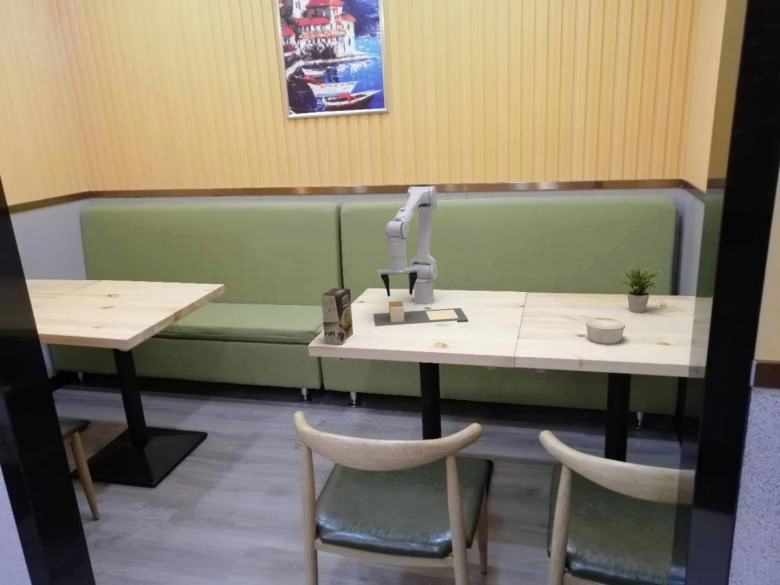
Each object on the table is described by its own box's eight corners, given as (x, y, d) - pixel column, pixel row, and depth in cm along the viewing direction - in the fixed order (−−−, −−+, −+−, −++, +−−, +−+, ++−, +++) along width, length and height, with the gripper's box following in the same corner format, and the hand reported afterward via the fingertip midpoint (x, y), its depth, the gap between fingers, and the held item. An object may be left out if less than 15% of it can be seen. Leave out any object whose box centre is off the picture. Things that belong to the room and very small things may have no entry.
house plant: (657, 320, 192) (661, 271, 188) (613, 315, 199) (616, 268, 195) (662, 308, 204) (666, 262, 200) (620, 303, 211) (623, 259, 206)
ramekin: (621, 333, 182) (622, 317, 181) (626, 346, 172) (627, 329, 170) (583, 332, 185) (584, 316, 183) (586, 345, 174) (587, 328, 173)
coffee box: (342, 345, 184) (338, 295, 180) (324, 343, 186) (320, 294, 182) (354, 335, 192) (350, 288, 188) (336, 334, 194) (332, 287, 190)
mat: (373, 315, 212) (373, 313, 212) (460, 309, 214) (460, 307, 213) (375, 327, 198) (375, 326, 198) (468, 321, 200) (468, 319, 200)
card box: (389, 315, 209) (388, 301, 208) (402, 314, 209) (401, 301, 208) (391, 322, 201) (390, 308, 200) (404, 321, 202) (403, 307, 200)
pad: (425, 311, 211) (425, 311, 211) (453, 310, 211) (453, 309, 211) (429, 320, 201) (429, 319, 201) (458, 318, 202) (458, 318, 202)
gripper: (378, 260, 193) (380, 299, 197) (421, 257, 195) (422, 296, 199) (376, 256, 200) (378, 294, 204) (417, 253, 202) (419, 291, 205)
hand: (399, 294), depth 202 cm, fingers open, 7 cm apart
